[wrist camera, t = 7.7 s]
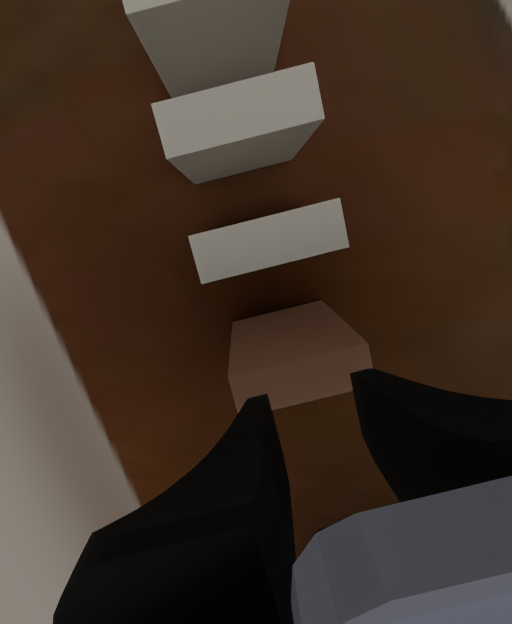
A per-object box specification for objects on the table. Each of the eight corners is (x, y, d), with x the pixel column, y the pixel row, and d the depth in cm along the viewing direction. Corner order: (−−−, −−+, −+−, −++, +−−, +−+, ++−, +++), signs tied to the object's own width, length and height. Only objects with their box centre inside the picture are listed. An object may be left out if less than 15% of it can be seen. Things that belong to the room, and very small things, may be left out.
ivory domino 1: (273, 74, 19) (296, -31, 11) (172, 100, 19) (126, 14, 11) (265, 37, 19) (284, -97, 11) (162, 64, 19) (108, -50, 11)
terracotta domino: (232, 322, 22) (228, 377, 14) (321, 300, 22) (368, 343, 14) (239, 349, 22) (239, 418, 14) (327, 327, 22) (376, 385, 14)
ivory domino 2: (291, 160, 20) (324, 118, 12) (195, 184, 20) (166, 158, 12) (284, 126, 20) (313, 61, 12) (186, 151, 20) (150, 103, 12)
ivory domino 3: (308, 238, 21) (349, 246, 13) (216, 261, 21) (201, 284, 13) (302, 207, 20) (339, 197, 13) (207, 231, 21) (187, 236, 13)
